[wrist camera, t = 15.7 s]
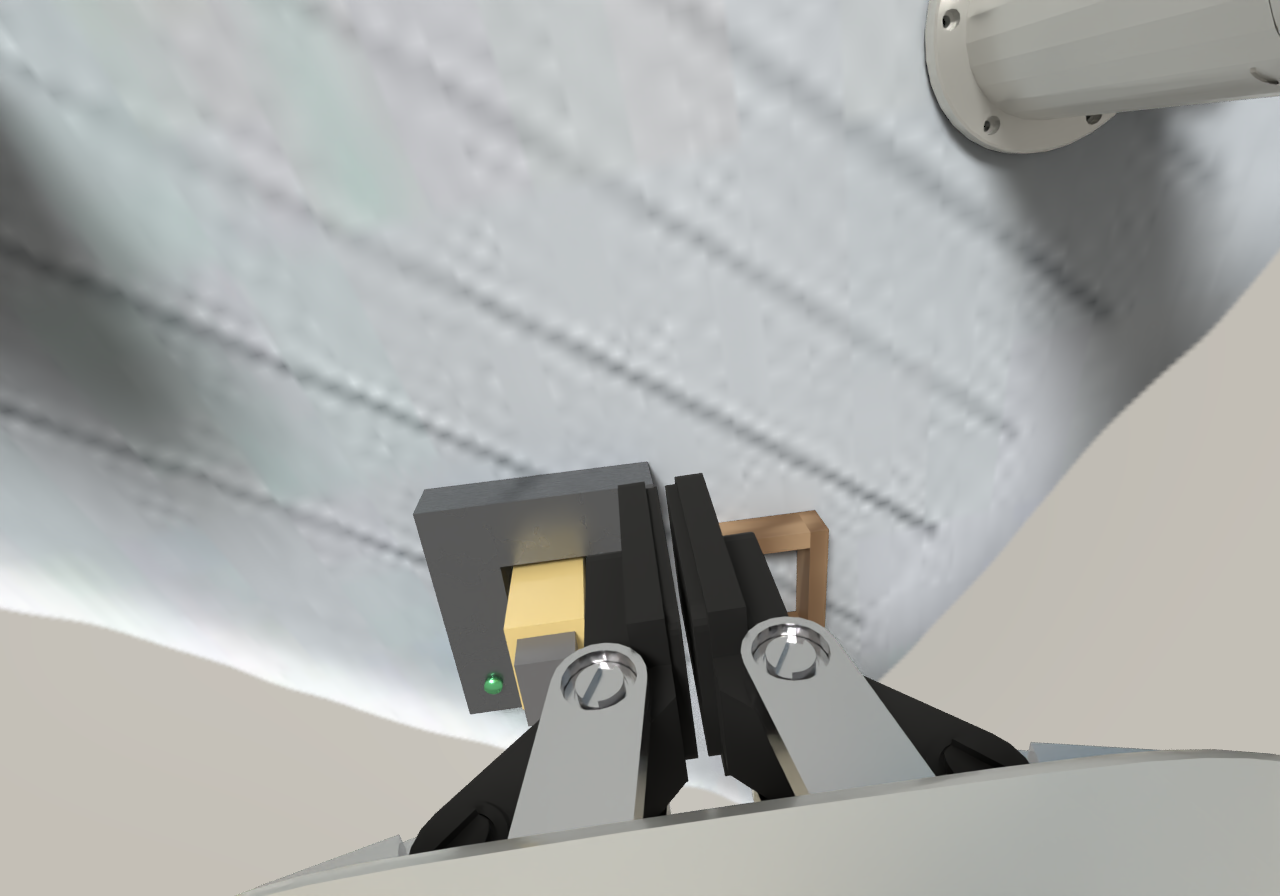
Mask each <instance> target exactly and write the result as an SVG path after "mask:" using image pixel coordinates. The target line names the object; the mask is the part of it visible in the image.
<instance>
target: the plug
mask: <svg viewBox="0 0 1280 896" xmlns="http://www.w3.org/2000/svg"><path fill="white" fill-rule="evenodd" d="M585 583H586V558H585V556H581V557H573V558H566V559H558V560H551V561H543V562H535V563H528V564H520V565H513V571H512V578H511V584H510V591H509V597H508V604H507V610H506V617H505V623H504V634H505V638H506V642H507V646H508V650H509V654H510V658H511V662H512V667H513V671H514V675H515V679H516V683H517V687H518V691H519V695H520V700H521V704H522V708H523V710H525V714H526V718H527V722H528V726H533V725H534V724H535V723H536V722H537V721H538V720H540V718H541V715H542V711H543V707H544V704H545V700H546V696H547V693H548V689H549V685H550V682H551V679H552V677H553V675H554V672H555V670H556V668H557V667H558V666H559V665H560V664H561V663H562V662H563V660H564V659H565V658H567V657H568V656H569V655H571V654H572V653H574V652H575V651H577V650H579V649H582V648H584V621H585Z"/></svg>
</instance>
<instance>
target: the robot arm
mask: <svg viewBox="0 0 1280 896" xmlns="http://www.w3.org/2000/svg"><path fill="white" fill-rule="evenodd" d="M943 18H944V19H945V23H946V24H945V27H943V22H942V20H943ZM925 46H926V63H927V67H928V72H929V77H930V82H931V86H932V88H933V91H934V93H935V96H936V98H937V100H938V103H939V105H940V107H941V109H942V110H943V112H944V113H945V115H946V116H947V117H948V119H949V120H950V122H951V123H952V125H953V126H954V127H955V128H957V129H958V130H959V131H960V132H961V133H962V134H963V135H964V136H965V137H967V138H968V139H969V140H971V141H973V142H975V143H977V144H979V145H981V146H982V147H984V148H986V149H990V150H994V151H999V152H1003V153H1020V154H1027V153H1037V152H1047V151H1051V150H1054V149H1057V148H1060V147H1063V146H1066V145H1070V144H1072V143H1074V142H1076V141H1077V140H1079V139H1081V138H1083V137H1085V136H1087V135H1089V134H1091V133H1092V132H1094V131H1095V130H1096V129H1098V128H1099V127H1100V126H1102V125H1103V124H1105V123H1106V122H1107V121H1109V120H1110V119H1111V118H1113V117H1114V116H1115V115H1116V114H1117V113H1118V112H1127V111H1137V110H1147V109H1157V108H1167V107H1177V106H1187V105H1197V104H1207V103H1217V102H1227V101H1236V100H1246V99H1256V98H1266V97H1276V96H1280V0H929V5H928V13H927V21H926V29H925ZM984 124H985V129H984ZM665 490H666V498H667V505H668V513H669V521H670V528H671V536H672V544H673V551H674V559H675V566H676V574H677V582H678V589H679V597H680V603H681V610H682V615H683V621H684V626H685V631H686V637H687V642H688V648H689V653H690V658H691V664H692V669H693V675H694V680H695V686H696V691H697V696H698V702H699V707H700V713H701V718H702V724H703V729H704V734H705V740H706V745H707V751H708V755H709V756H715V755H721V758H722V763H723V767H724V772H725V776H730V775H731V776H733V777H734V778H736V779H737V780H739V781H740V782H742V783H743V784H745V785H747V786H748V787H750V788H751V789H752V795H753V800H754V802H753V803H746V804H739V805H732V806H725V807H719V808H712V809H705V810H698V811H691V812H684V813H678V814H671V810H670V801H671V800H672V799H673V798H674V797H675V795H676V794H677V793H678V792H679V790H680V789H681V788H682V787H683V786H684V784H685V783H686V782H688V775H687V768H686V761H685V760H688V759H695V758H698V751H697V744H696V736H695V729H694V721H693V714H692V706H691V699H690V691H689V684H688V676H687V669H686V661H685V654H684V646H683V639H682V632H681V625H680V618H679V612H678V606H677V600H676V594H675V589H674V583H673V577H672V572H671V566H670V560H669V555H668V549H667V543H666V538H665V532H664V527H663V521H662V515H661V510H660V504H659V498H658V493H657V487H652V488H646V487H645V481H644V482H637V483H630V484H623V485H618V501H619V517H620V534H621V550H622V551H615V552H608V553H602V554H595V555H588V556H587V557H586V583H585V621H584V648H582V649H579V650H577V651H575V652H574V653H572V654H571V655H569V656H568V657H567V658H565V659H564V660H563V662H562V663H561V664H560V665H559V666H558V667H557V668H556V670H555V672H554V675H553V677H552V679H551V682H550V685H549V689H548V693H547V696H546V700H545V704H544V707H543V711H542V715H541V718H540V720H538V721H537V722H536V723H535V724H534V725H533V726H532V727H531V728H530V729H528V730H527V731H526V732H525V733H524V734H523V735H522V736H521V737H520V738H519V739H517V740H516V741H515V742H514V743H513V744H512V745H511V746H510V747H509V748H507V749H506V750H505V751H504V752H503V753H502V754H501V755H500V756H499V757H498V758H496V759H495V760H494V761H493V762H492V763H491V764H490V765H489V766H488V767H486V768H485V769H484V770H483V771H482V772H481V773H480V774H479V775H478V776H477V777H475V778H474V779H473V780H472V781H471V782H470V783H469V784H468V785H467V786H465V787H464V788H463V789H462V790H461V791H460V792H459V793H458V794H457V795H455V796H454V797H453V798H452V799H451V800H450V801H449V802H448V803H447V804H446V805H444V806H443V807H442V808H441V809H440V810H439V811H438V812H437V813H436V814H434V816H433V817H432V818H431V819H430V820H429V821H428V822H427V823H426V825H425V826H424V827H423V828H422V829H421V830H420V832H419V834H418V836H417V837H416V838H413V839H410V840H407V841H405V842H402V840H401V837H400V835H396V836H394V837H391V838H388V839H386V840H383V841H380V842H377V843H375V844H372V845H369V846H367V847H364V848H361V849H358V850H356V851H353V852H350V853H348V854H345V855H342V856H339V857H337V858H334V859H331V860H329V861H326V862H323V863H320V864H318V865H315V866H312V867H310V868H307V869H305V870H301V871H299V872H296V873H293V874H291V875H288V876H285V877H283V878H280V879H277V880H275V881H272V882H269V883H266V884H263V885H261V886H258V887H256V888H254V889H252V890H249V891H246V892H243V893H241V894H238V895H236V896H1280V755H1276V754H1268V753H1255V752H1242V751H1229V750H1216V749H1212V750H1211V749H1202V750H1152V749H1136V748H1119V747H1118V748H1117V747H1101V746H1085V745H1069V744H1052V743H1035V742H1031V743H1030V748H1029V751H1025V750H1017V749H1015V748H1014V747H1013V746H1012V745H1011V744H1009V743H1008V742H1006V741H1004V740H1002V739H1001V738H999V737H997V736H996V735H994V734H992V733H990V732H988V731H985V730H983V729H981V728H979V727H977V726H974V725H972V724H970V723H968V722H965V721H963V720H961V719H959V718H956V717H954V716H952V715H950V714H948V713H945V712H943V711H941V710H939V709H936V708H934V707H932V706H930V705H928V704H925V703H923V702H921V701H918V700H916V699H914V698H912V697H910V696H907V695H905V694H903V693H901V692H899V691H896V690H894V689H892V688H890V687H887V686H885V685H883V684H881V683H878V682H876V681H874V680H872V679H870V678H867V677H865V676H863V675H862V674H861V672H860V671H859V669H858V668H857V667H856V665H855V664H854V663H853V661H852V660H851V658H850V657H849V656H848V654H847V653H846V651H845V650H844V649H843V647H842V646H841V645H840V643H839V642H838V640H837V639H836V638H835V637H834V636H833V635H832V634H831V633H830V632H829V631H828V630H827V629H826V628H824V627H822V626H821V625H819V624H817V623H815V622H813V621H810V620H806V619H803V618H798V617H789V616H788V613H787V611H786V608H785V606H784V603H783V601H782V599H781V596H780V594H779V591H778V589H777V586H776V584H775V582H774V579H773V577H772V574H771V572H770V570H769V567H768V565H767V562H766V560H765V557H764V555H763V553H762V550H761V548H760V545H759V543H758V540H757V538H756V536H755V534H754V533H753V532H745V533H738V534H731V535H725V536H723V535H722V532H721V529H720V526H719V523H718V520H717V516H716V513H715V510H714V507H713V504H712V501H711V498H710V495H709V492H708V489H707V486H706V483H705V480H704V477H703V474H702V473H698V474H691V475H685V476H678V477H675V484H673V485H666V486H665Z"/></svg>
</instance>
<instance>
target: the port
mask: <svg viewBox="0 0 1280 896" xmlns="http://www.w3.org/2000/svg"><path fill="white" fill-rule="evenodd" d="M644 481H645V487H646V488H652V487H653V482H652V478H651V474H650V470H649V466H648V462H641V463H633V464H625V465H617V466H609V467H601V468H593V469H585V470H577V471H569V472H562V473H554V474H546V475H538V476H530V477H522V478H514V479H506V480H498V481H490V482H482V483H474V484H466V485H458V486H450V487H442V488H434V489H426V490H424V492H423V494H422V496H421V498H420V500H419V503H418V505H417V507H416V509H415V511H414V513H413V516H414V519H415V523H416V526H417V530H418V533H419V537H420V540H421V544H422V547H423V551H424V554H425V558H426V561H427V565H428V568H429V572H430V575H431V579H432V582H433V586H434V589H435V593H436V596H437V600H438V603H439V607H440V610H441V614H442V617H443V621H444V624H445V628H446V631H447V635H448V638H449V642H450V645H451V649H452V652H453V656H454V659H455V663H456V666H457V670H458V673H459V677H460V680H461V684H462V687H463V691H464V694H465V698H466V701H467V705H468V708H469V712H470V714H476V713H483V712H490V711H497V710H504V709H511V708H518V707H522V704H521V700H520V695H519V691H518V687H517V683H516V679H515V675H514V671H513V667H512V662H511V658H510V654H509V650H508V646H507V642H506V638H505V634H504V623H505V617H506V610H507V604H508V597H509V591H510V584H511V578H512V570H511V566H513V565H520V564H528V563H535V562H543V561H551V560H558V559H566V558H573V557H581V556H588V555H595V554H602V553H608V552H615V551H622V550H621V534H620V517H619V501H618V485H623V484H630V483H637V482H644Z"/></svg>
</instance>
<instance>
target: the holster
mask: <svg viewBox="0 0 1280 896" xmlns="http://www.w3.org/2000/svg"><path fill="white" fill-rule="evenodd" d="M719 526H720V529H721V532H722V535H723V536H725V535H731V534H738V533H745V532H753V533H754V534H755V536H756V538H757V540H758V543H759V545H760V548H761V550H762V553H763V554H769V553H776V552H784V551H791V550H797V586H796V611H793V612H787V613H788V616H789V617H798V618H803V619H806V620H810V621H813V622H815V623H817V624H819V625H821V626H822V627H824V628H825V610H826V586H827V563H828V539H829V529H828V528H827V526H826V525H825V524H824V522H823V521H822V519H821V518H820V516H819V515H818V514H817V512H816V511H815V510H813V511H806V512H798V513H790V514H783V515H775V516H767V517H760V518H752V519H744V520H737V521H729V522H722V523H719Z"/></svg>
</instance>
